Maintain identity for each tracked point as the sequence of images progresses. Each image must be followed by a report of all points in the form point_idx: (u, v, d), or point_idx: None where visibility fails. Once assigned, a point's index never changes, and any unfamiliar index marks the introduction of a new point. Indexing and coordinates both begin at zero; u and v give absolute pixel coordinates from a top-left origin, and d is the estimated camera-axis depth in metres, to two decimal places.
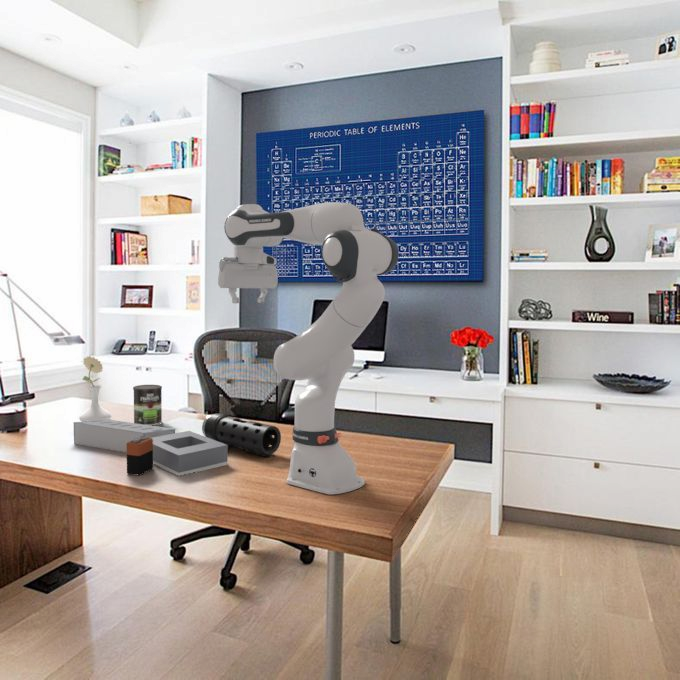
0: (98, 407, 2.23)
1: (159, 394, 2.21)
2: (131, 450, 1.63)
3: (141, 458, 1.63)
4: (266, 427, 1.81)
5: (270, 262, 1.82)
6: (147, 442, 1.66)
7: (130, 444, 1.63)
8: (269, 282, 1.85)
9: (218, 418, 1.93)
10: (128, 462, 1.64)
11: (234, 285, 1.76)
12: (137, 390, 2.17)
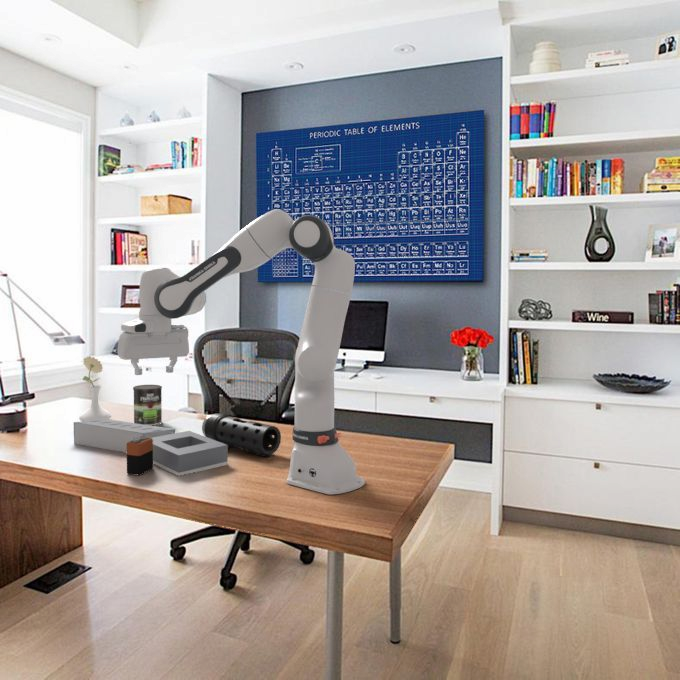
0: (98, 407, 2.23)
1: (159, 394, 2.21)
2: (131, 450, 1.63)
3: (141, 458, 1.63)
4: (266, 427, 1.81)
5: None
6: (147, 442, 1.66)
7: (130, 444, 1.63)
8: None
9: (218, 418, 1.93)
10: (128, 462, 1.64)
11: None
12: (137, 390, 2.17)
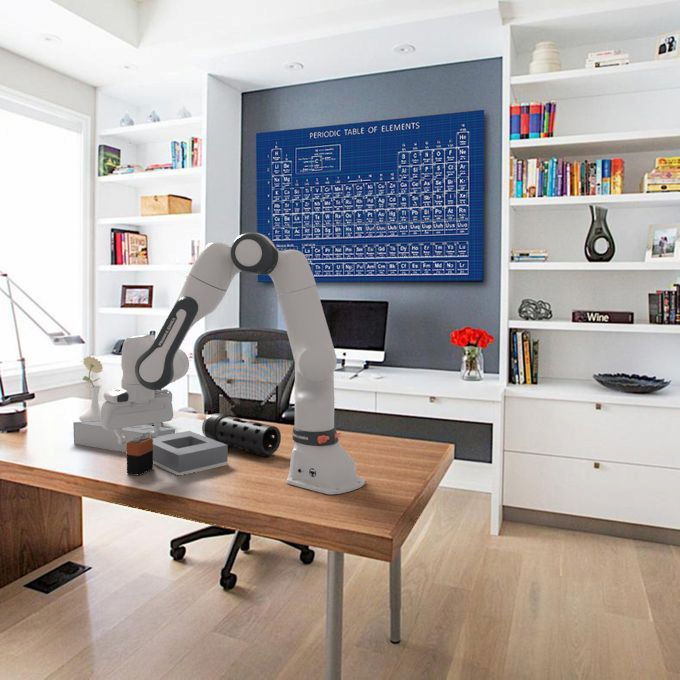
0: (98, 407, 2.23)
1: None
2: (131, 450, 1.63)
3: (141, 458, 1.63)
4: (266, 427, 1.81)
5: None
6: (147, 442, 1.66)
7: (130, 444, 1.63)
8: None
9: (218, 418, 1.93)
10: (128, 462, 1.64)
11: None
12: None
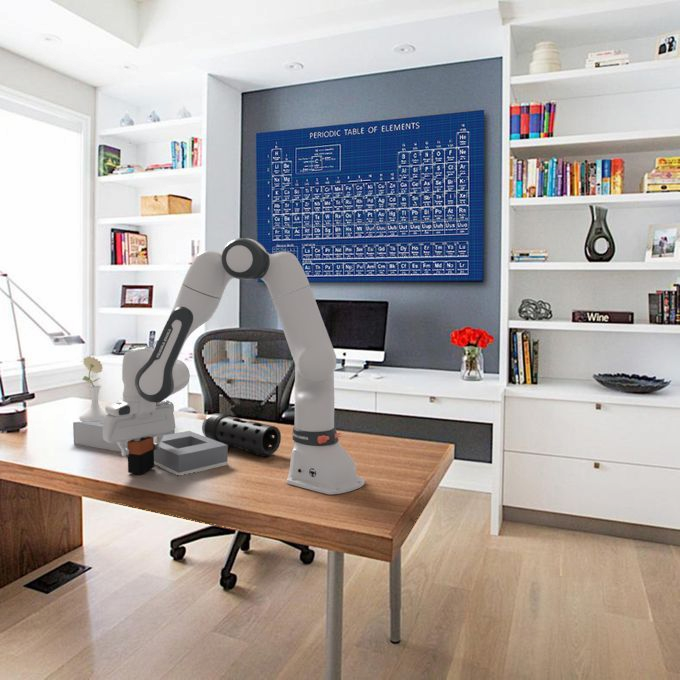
0: (98, 407, 2.23)
1: None
2: (132, 449, 1.63)
3: (142, 456, 1.63)
4: (266, 427, 1.81)
5: None
6: (148, 441, 1.66)
7: (131, 443, 1.63)
8: None
9: (218, 418, 1.93)
10: (129, 461, 1.64)
11: None
12: None
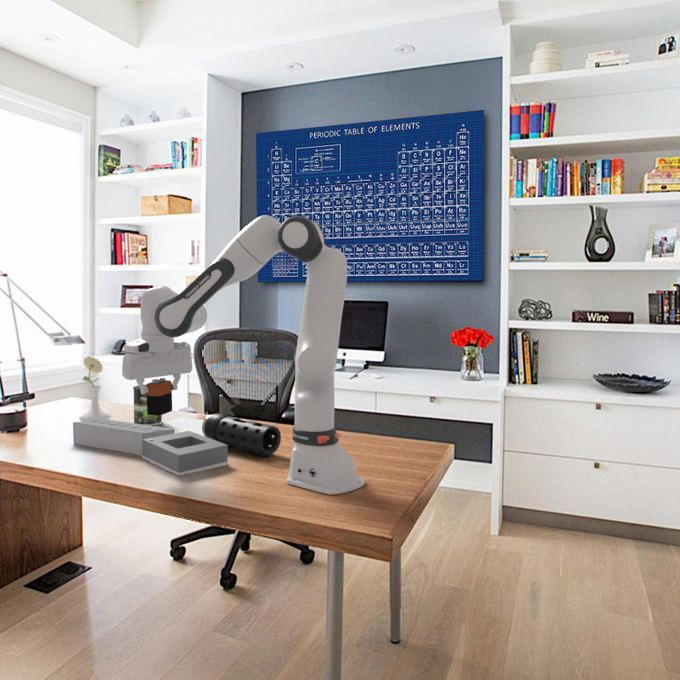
0: (98, 407, 2.23)
1: None
2: (151, 390, 1.65)
3: (161, 398, 1.65)
4: (266, 427, 1.81)
5: None
6: (166, 384, 1.68)
7: (150, 385, 1.65)
8: None
9: (218, 418, 1.93)
10: (148, 403, 1.66)
11: None
12: (137, 390, 2.17)
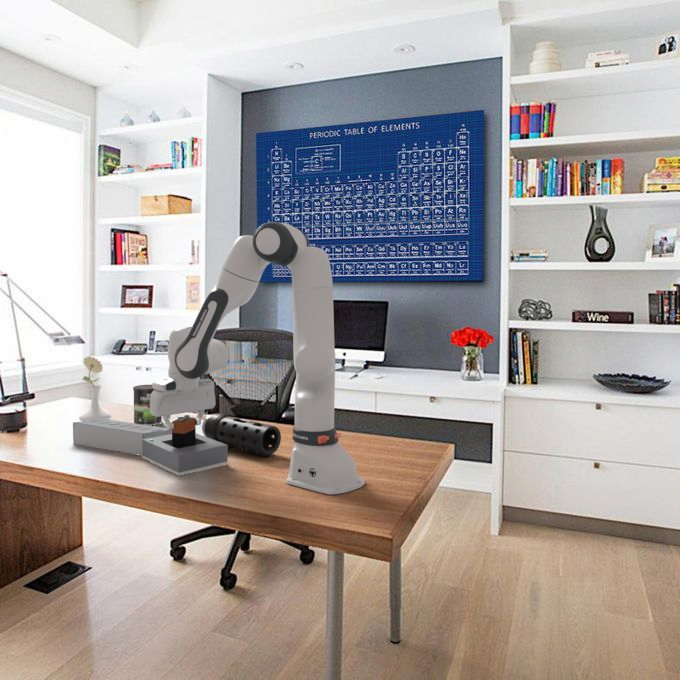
0: (98, 407, 2.23)
1: None
2: (177, 428, 1.72)
3: (185, 435, 1.73)
4: (266, 427, 1.81)
5: None
6: (191, 421, 1.75)
7: (176, 423, 1.72)
8: None
9: (218, 418, 1.93)
10: (173, 440, 1.73)
11: None
12: (137, 390, 2.17)
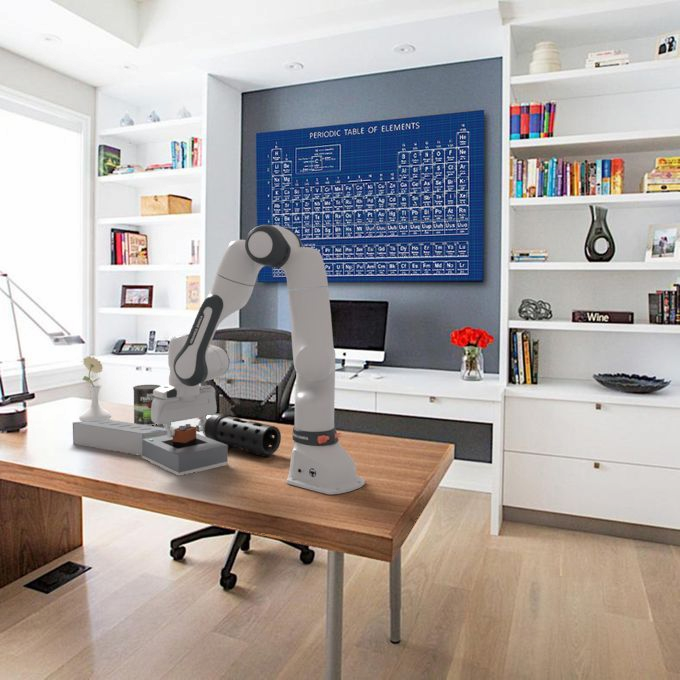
0: (98, 407, 2.23)
1: None
2: (177, 437, 1.73)
3: (186, 445, 1.73)
4: (266, 427, 1.81)
5: None
6: (192, 430, 1.76)
7: (177, 432, 1.72)
8: None
9: (218, 418, 1.93)
10: None
11: None
12: (137, 390, 2.17)
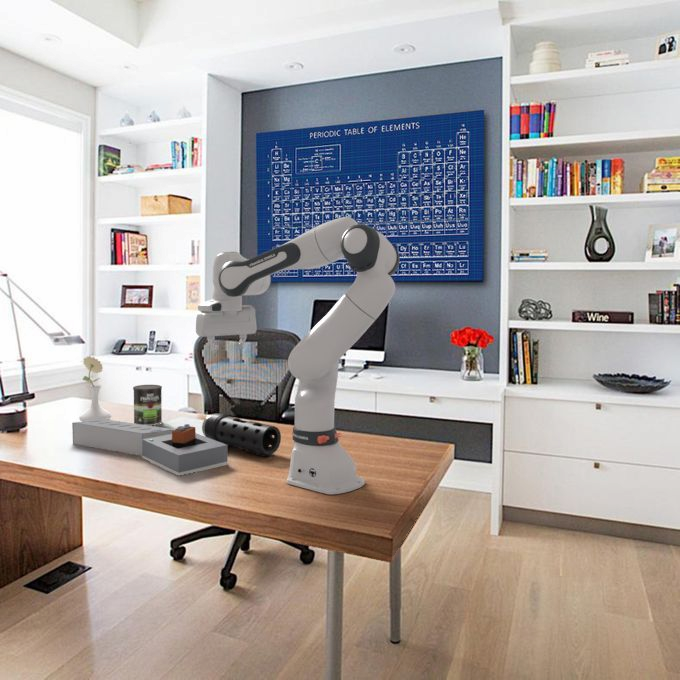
0: (98, 407, 2.23)
1: (159, 394, 2.21)
2: (177, 437, 1.73)
3: (185, 445, 1.73)
4: (266, 427, 1.81)
5: None
6: (191, 430, 1.75)
7: (176, 432, 1.72)
8: None
9: (218, 418, 1.93)
10: None
11: None
12: (137, 390, 2.17)
